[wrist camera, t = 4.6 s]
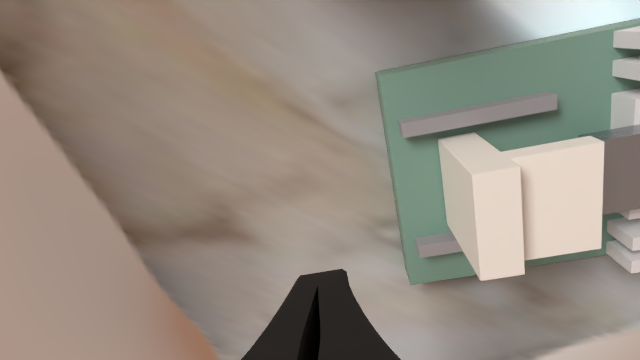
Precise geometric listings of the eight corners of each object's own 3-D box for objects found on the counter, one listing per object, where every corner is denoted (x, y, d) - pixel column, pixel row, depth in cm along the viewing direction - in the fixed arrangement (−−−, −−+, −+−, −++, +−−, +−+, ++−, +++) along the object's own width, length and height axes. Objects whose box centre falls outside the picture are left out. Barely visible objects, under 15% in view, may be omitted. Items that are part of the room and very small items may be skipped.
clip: (548, 118, 17) (620, 148, 13) (550, 206, 18) (615, 260, 14) (437, 139, 17) (471, 174, 13) (447, 223, 19) (480, 280, 15)
